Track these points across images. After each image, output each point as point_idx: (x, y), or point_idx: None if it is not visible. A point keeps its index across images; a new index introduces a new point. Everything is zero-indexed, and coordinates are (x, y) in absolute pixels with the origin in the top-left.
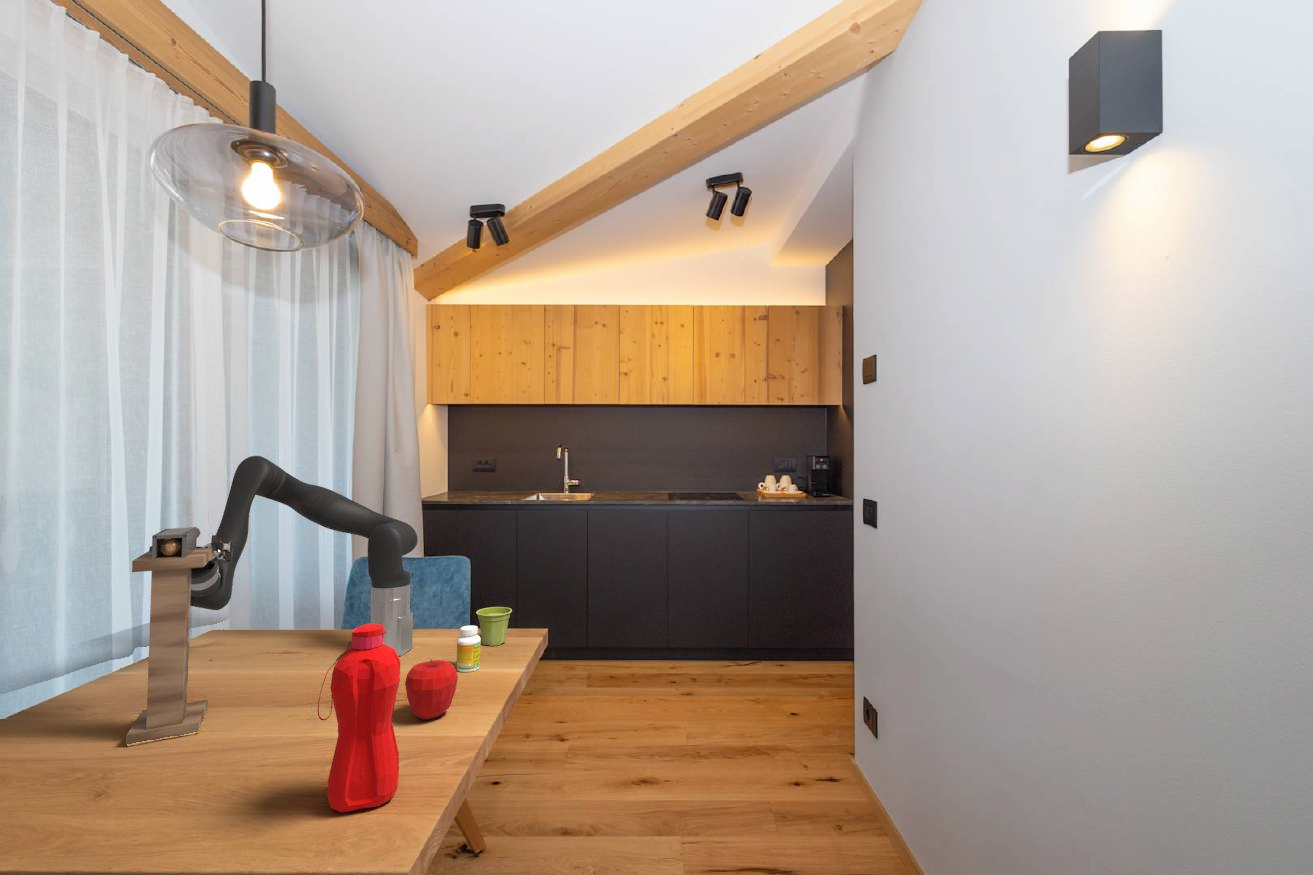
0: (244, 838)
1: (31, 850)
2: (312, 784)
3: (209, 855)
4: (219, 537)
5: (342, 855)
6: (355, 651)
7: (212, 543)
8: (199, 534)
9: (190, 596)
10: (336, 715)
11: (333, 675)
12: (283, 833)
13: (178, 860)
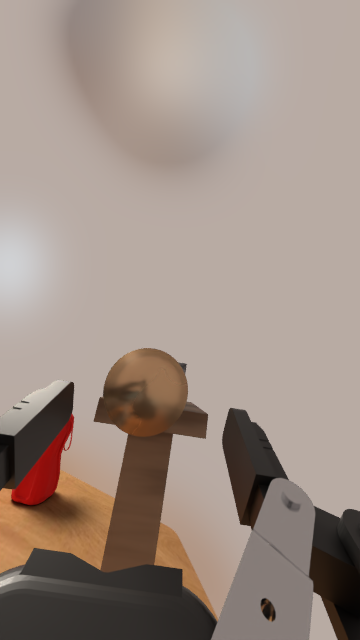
0: (90, 498)
1: (171, 536)
2: (41, 517)
3: (104, 496)
4: (37, 390)
5: (67, 477)
6: None
7: (66, 414)
8: (108, 392)
9: (119, 478)
10: (65, 442)
11: (73, 421)
12: (76, 493)
13: (114, 499)
